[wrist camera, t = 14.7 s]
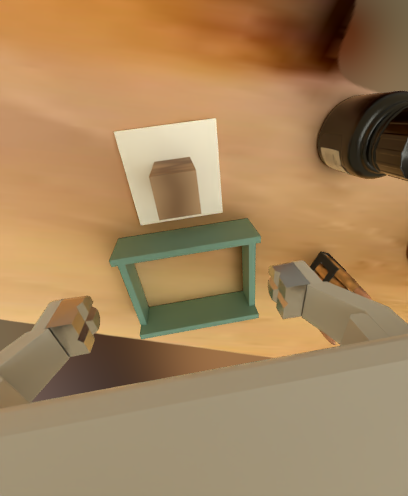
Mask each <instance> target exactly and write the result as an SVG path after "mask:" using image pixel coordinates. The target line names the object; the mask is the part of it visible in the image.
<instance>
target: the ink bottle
mask: <svg viewBox="0 0 408 496" xmlns="http://www.w3.org/2000/svg"><path fill="white" fill-rule="evenodd" d="M318 153H319V156H320V158H321V160H322V162H323V163H324V164H325V165H327V166H328V167H330V168H333V169H335V170H338V171H341V172H344V173H347V174H350V175H353V176H357V177H360V178H365V179H375V178H380V177H383V176H386V175H388V176H391V177H395V178H398V179H402V180H406V181H408V92H407V91H395V92H385V93H375V94H366V95H358V96H353V97H351V98H348V99H346V100H344V101H342V102H341V103H340V104H338V105H337V106H336V107H335V108H334V109H333V110H332V111H331V112H330V114H329V115H328V117H327V118H326V120H325V122H324V124H323V126H322V128H321V131H320V134H319V139H318Z"/></svg>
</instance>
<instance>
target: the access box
mask: <svg viewBox="0 0 408 496" xmlns="http://www.w3.org/2000/svg"><path fill="white" fill-rule="evenodd" d="M256 243H261V236H260V234H259V233H258V232H257V230H256V229H255V228H254V226H253V225H252V224H251V222H250V221H249V220H248V218H246V219H239V220H233V221H227V222H220V223H214V224H208V225H201V226H195V227H189V228H182V229H176V230H169V231H163V232H157V233H150V234H144V235H138V236H131V237H125V238H119V239H118V241H117V243H116V246H115V248H114V250H113V253H112V255H111V257H110V260H109V262H110V264H111V267H115V266H118V268H119V270H120V273H121V275H122V278H123V280H124V283H125V286H126V288H127V291H128V293H129V296H130V298H131V301H132V303H133V306H134V309H135V311H136V314H137V316H138V319H139V321H140V324H141V330H140V337H141V339H145V338H151V337H156V336H162V335H167V334H173V333H178V332H184V331H189V330H195V329H200V328H206V327H211V326H217V325H222V324H228V323H233V322H239V321H244V320H250V319H255V318H259V314H258V311H257V309H256V307H255V255H256ZM237 246H242V273H243V291H239V292H233V293H228V294H222V295H216V296H210V297H205V298H199V299H193V300H188V301H182V302H176V303H170V304H165V305H159V306H153V307H149V306H148V303H147V300H146V297H145V294H144V291H143V288H142V286H141V283H140V280H139V277H138V274H137V271H136V268H135V265H134V263H139V262H145V261H151V260H157V259H163V258H169V257H176V256H182V255H188V254H194V253H200V252H206V251H212V250H218V249H224V248H230V247H237Z"/></svg>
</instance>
